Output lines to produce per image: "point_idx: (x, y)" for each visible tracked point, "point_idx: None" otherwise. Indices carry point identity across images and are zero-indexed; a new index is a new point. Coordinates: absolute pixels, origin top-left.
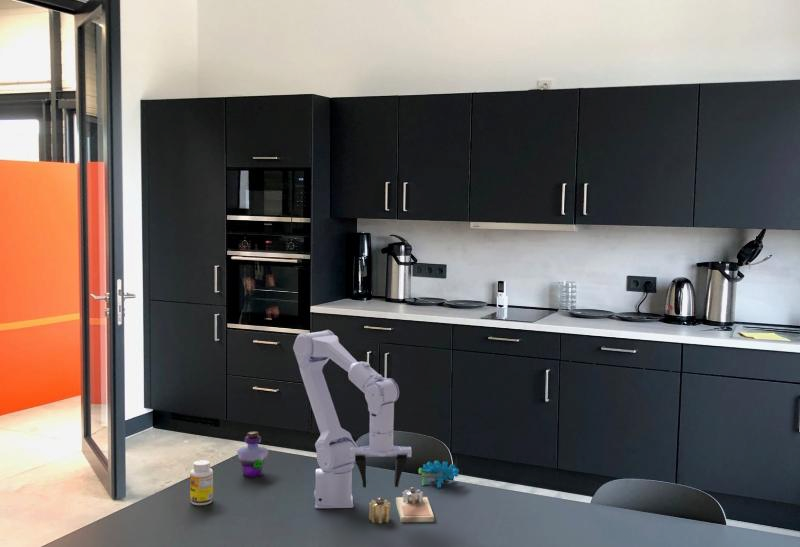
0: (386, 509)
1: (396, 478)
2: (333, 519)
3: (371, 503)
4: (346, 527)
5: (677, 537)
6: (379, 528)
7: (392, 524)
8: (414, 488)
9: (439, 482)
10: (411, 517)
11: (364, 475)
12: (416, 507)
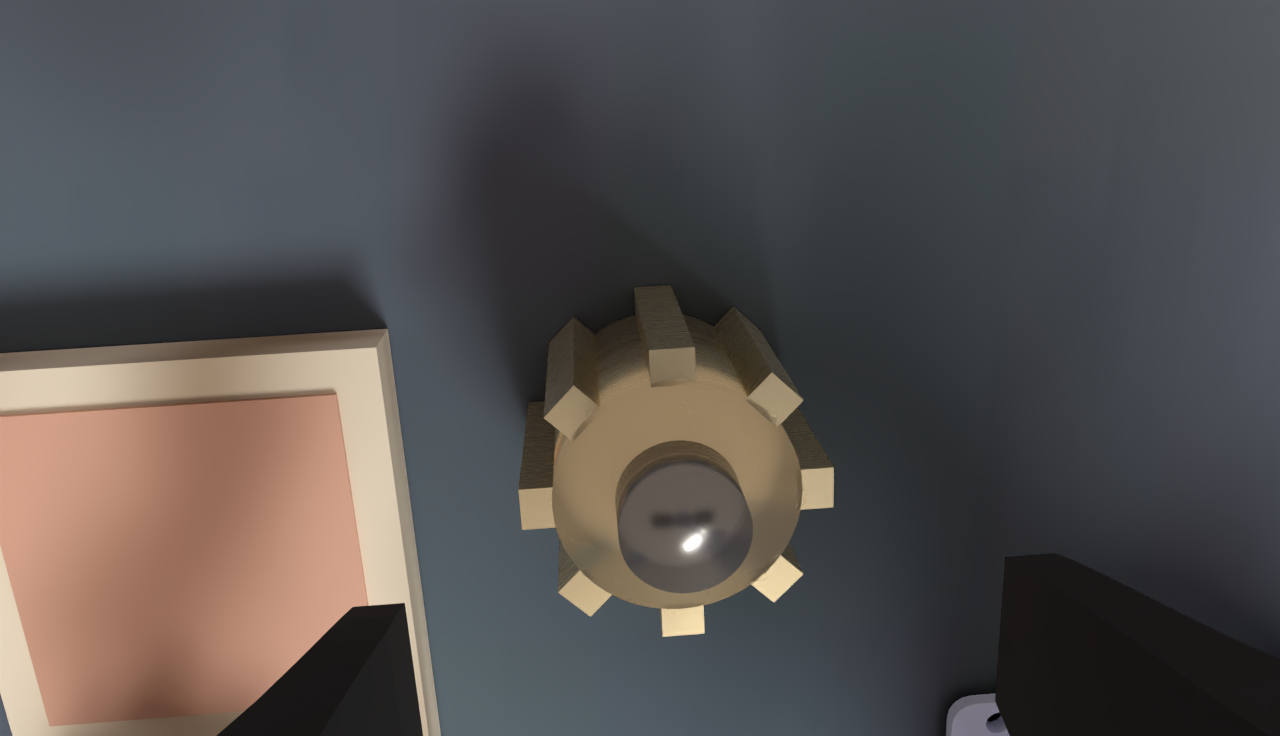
0: (577, 371)
1: (338, 691)
2: (1203, 395)
3: (804, 482)
4: (1080, 159)
5: None
6: (667, 132)
7: (496, 262)
8: None
9: None
10: (232, 353)
11: (1204, 667)
12: (181, 653)
